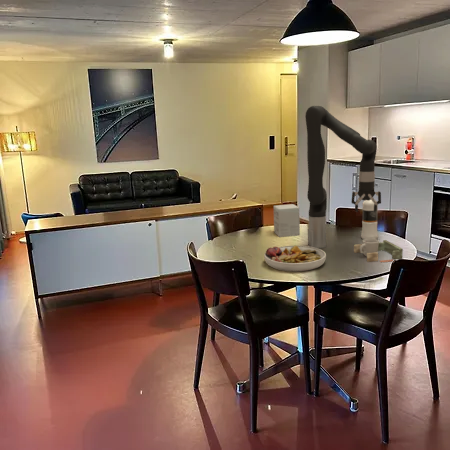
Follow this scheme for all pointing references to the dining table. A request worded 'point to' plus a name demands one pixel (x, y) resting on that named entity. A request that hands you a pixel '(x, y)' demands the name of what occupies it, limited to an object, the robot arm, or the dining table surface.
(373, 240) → the cup
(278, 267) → the bowl
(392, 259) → the trap mat
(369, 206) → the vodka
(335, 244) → the dining table surface
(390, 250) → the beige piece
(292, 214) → the supplement box
